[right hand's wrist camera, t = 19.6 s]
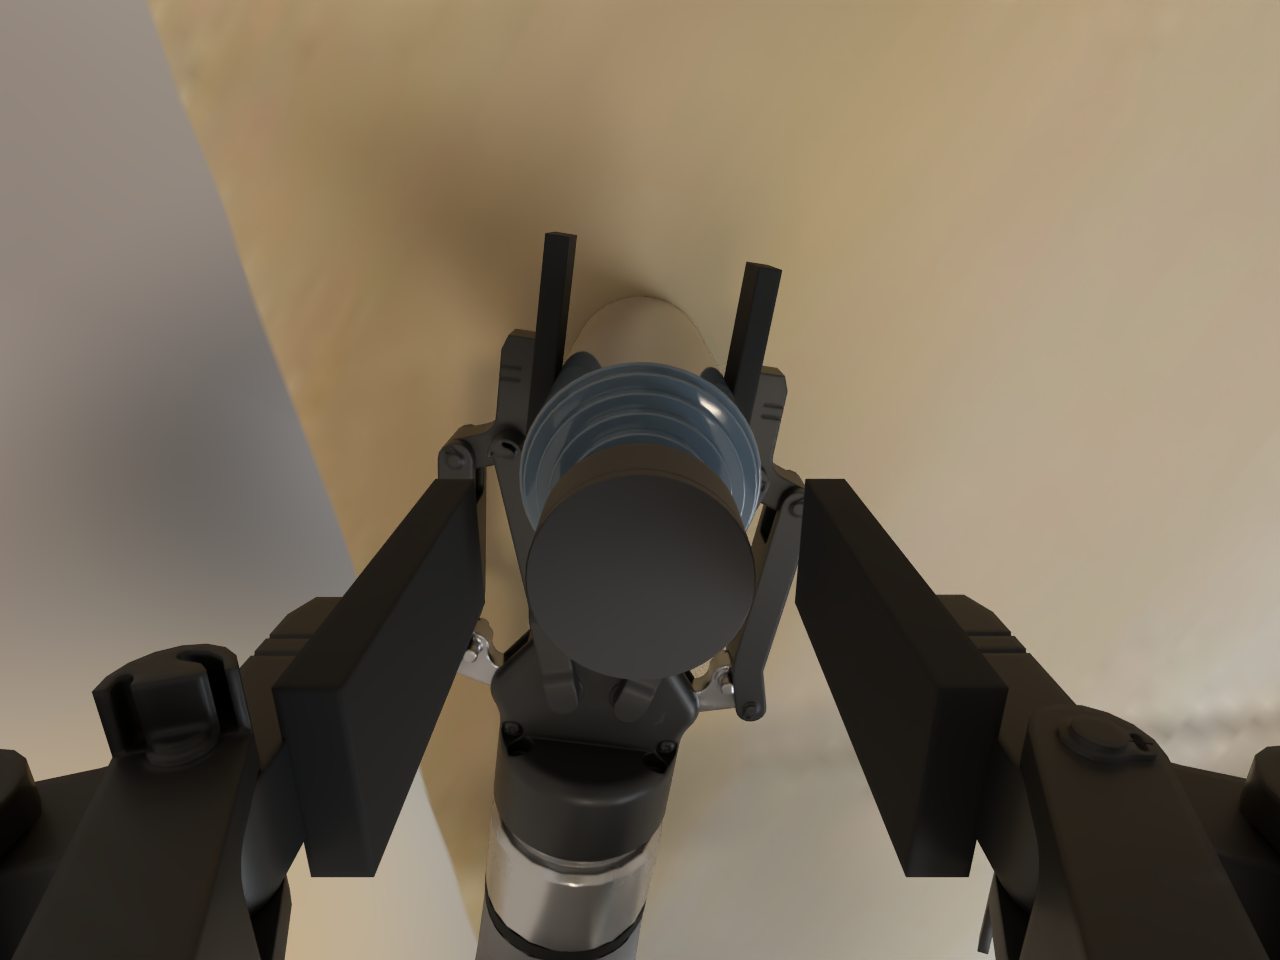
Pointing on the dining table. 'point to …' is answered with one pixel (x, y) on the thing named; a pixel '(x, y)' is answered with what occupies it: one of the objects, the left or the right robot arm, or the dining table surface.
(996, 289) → the dining table surface
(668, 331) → the bottle
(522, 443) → the left robot arm
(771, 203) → the dining table surface
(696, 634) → the cap
